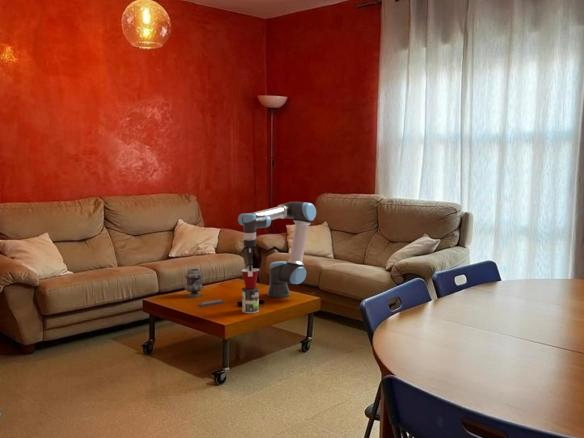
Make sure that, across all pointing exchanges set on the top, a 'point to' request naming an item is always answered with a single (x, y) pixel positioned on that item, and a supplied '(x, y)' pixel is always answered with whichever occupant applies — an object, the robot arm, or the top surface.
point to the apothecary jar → (193, 282)
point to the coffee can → (250, 300)
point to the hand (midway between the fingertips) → (250, 273)
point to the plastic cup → (250, 278)
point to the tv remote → (211, 303)
